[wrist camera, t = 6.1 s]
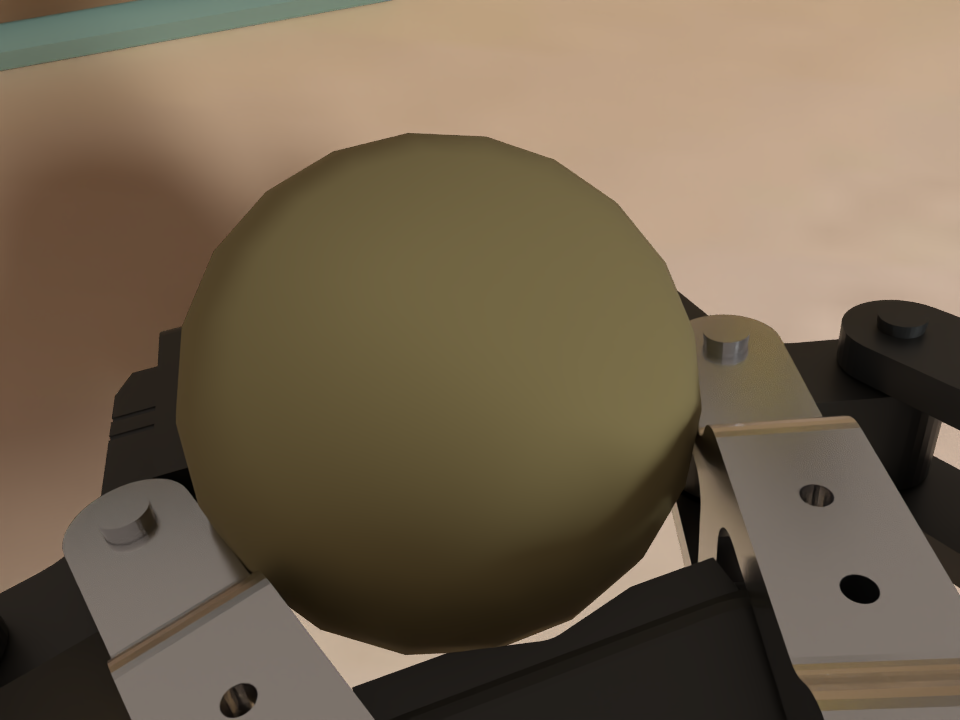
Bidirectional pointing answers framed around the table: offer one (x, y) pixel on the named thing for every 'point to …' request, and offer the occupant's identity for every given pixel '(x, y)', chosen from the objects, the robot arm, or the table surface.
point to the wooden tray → (46, 7)
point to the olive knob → (437, 393)
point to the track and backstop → (142, 25)
